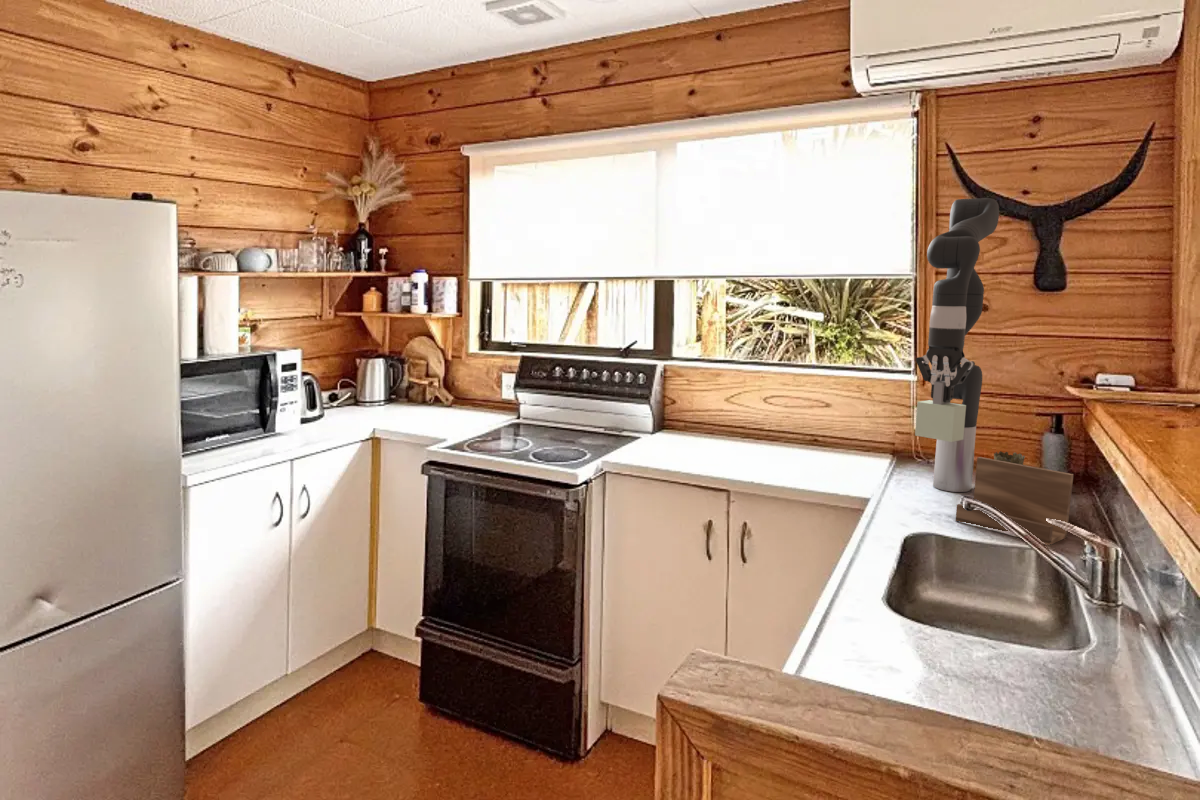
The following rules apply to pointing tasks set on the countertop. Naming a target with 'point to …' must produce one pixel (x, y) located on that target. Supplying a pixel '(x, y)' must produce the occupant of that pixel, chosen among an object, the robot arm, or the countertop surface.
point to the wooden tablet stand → (1021, 497)
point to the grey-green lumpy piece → (1009, 457)
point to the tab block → (940, 417)
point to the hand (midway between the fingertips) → (941, 401)
